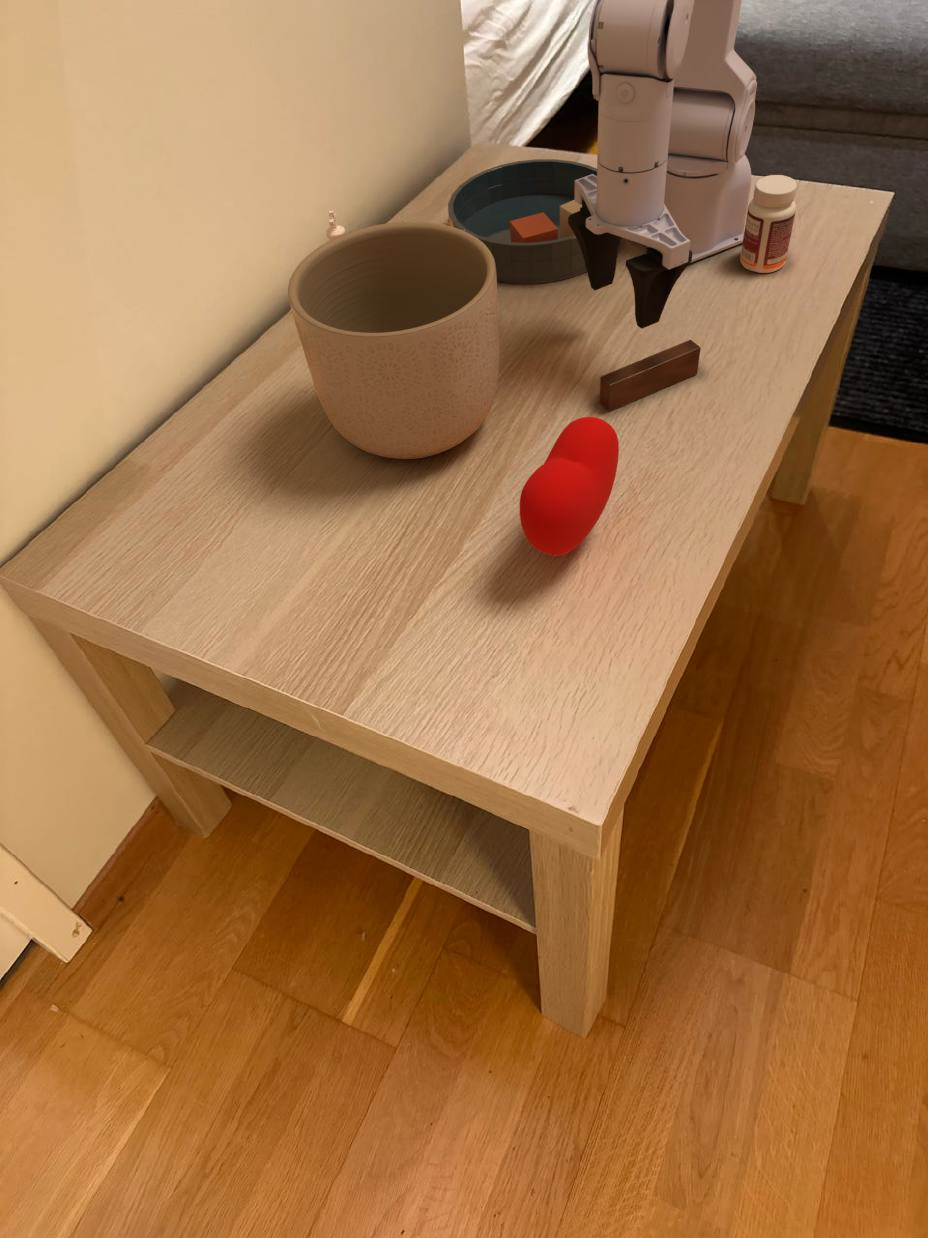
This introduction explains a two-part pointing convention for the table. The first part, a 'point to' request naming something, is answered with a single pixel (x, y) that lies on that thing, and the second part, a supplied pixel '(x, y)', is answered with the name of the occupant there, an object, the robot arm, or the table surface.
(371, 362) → the planter
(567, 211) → the cream block
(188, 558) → the table surface
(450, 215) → the bowl
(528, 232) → the terracotta block
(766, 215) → the pill bottle
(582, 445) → the heart
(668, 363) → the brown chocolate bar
